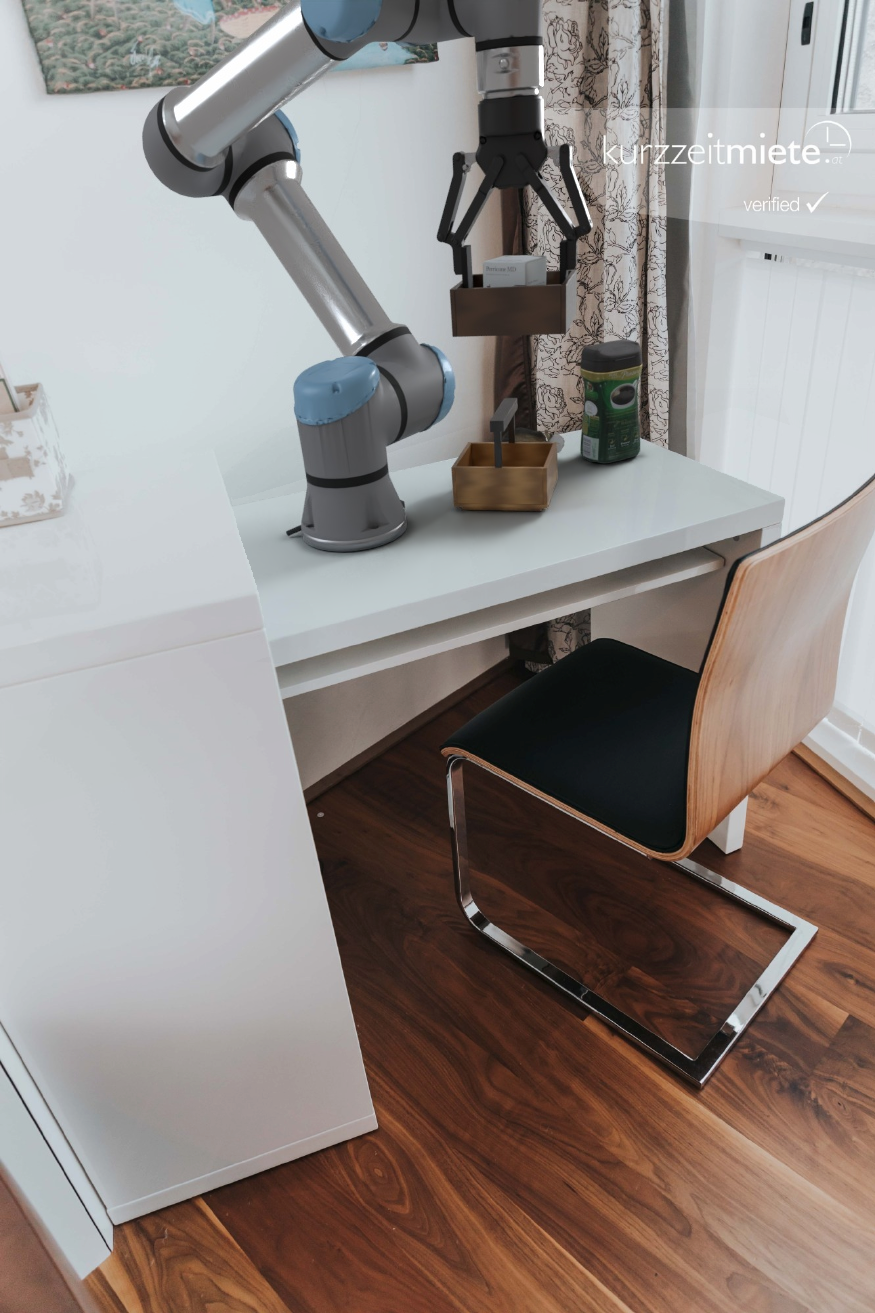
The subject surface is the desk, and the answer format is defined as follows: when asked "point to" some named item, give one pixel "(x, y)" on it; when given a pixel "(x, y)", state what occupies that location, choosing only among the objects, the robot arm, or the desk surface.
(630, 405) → the coffee jar
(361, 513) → the robot arm
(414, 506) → the desk surface
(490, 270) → the product carton
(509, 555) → the desk surface
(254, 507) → the desk surface
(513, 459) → the box
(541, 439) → the eagle figurine
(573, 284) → the dark brown wooden box
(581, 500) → the desk surface
